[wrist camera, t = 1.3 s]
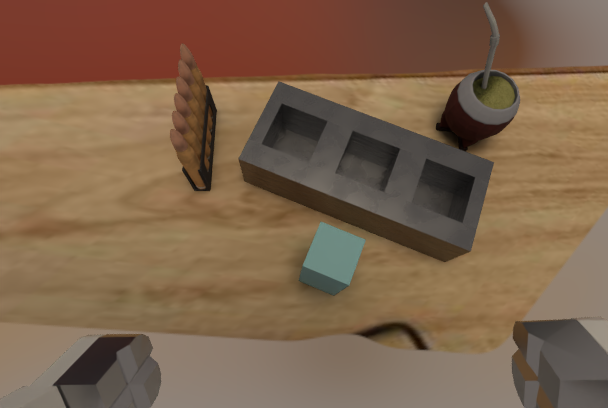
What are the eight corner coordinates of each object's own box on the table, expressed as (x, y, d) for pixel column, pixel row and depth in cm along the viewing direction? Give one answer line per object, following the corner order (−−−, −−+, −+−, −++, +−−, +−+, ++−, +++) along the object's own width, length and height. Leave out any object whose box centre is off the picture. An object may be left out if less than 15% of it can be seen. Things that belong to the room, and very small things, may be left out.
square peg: (298, 280, 39) (302, 265, 29) (312, 246, 40) (320, 221, 31) (333, 295, 39) (349, 285, 29) (346, 260, 40) (365, 239, 30)
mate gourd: (491, 156, 45) (587, 76, 31) (427, 152, 45) (493, 70, 30) (484, 103, 47) (570, 6, 33) (423, 99, 47) (483, 0, 33)
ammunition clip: (210, 191, 42) (182, 140, 30) (193, 191, 42) (159, 139, 30) (216, 109, 45) (193, 35, 34) (201, 109, 45) (172, 35, 34)
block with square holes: (244, 181, 42) (238, 158, 37) (279, 112, 45) (278, 81, 40) (444, 262, 40) (470, 251, 35) (466, 183, 43) (493, 162, 38)
